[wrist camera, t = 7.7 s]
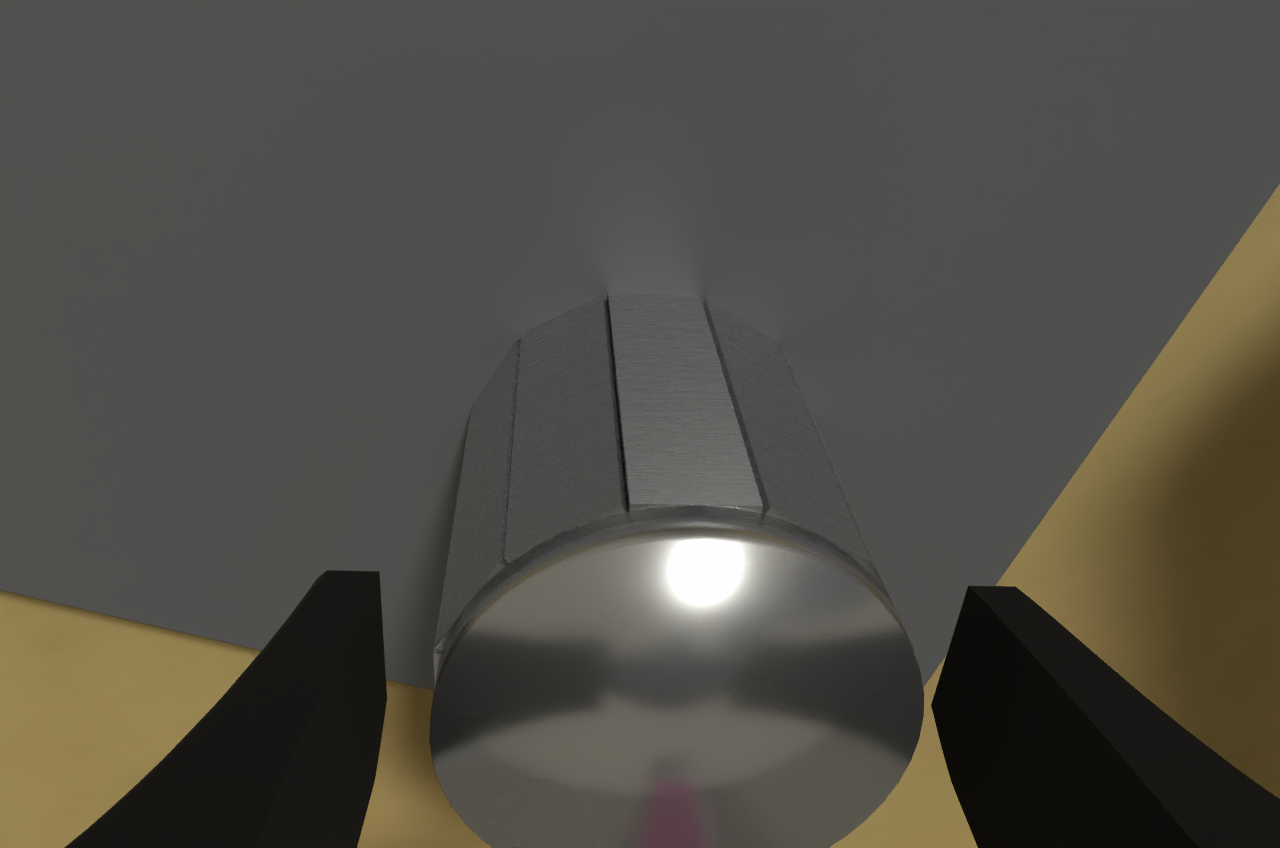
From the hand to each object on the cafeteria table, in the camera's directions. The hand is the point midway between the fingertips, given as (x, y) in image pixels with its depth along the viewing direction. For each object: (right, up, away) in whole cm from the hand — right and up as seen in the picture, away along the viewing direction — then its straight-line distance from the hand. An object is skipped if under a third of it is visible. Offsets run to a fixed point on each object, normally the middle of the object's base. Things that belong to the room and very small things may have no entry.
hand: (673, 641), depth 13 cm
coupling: (0, +2, +4) cm, 4 cm away
